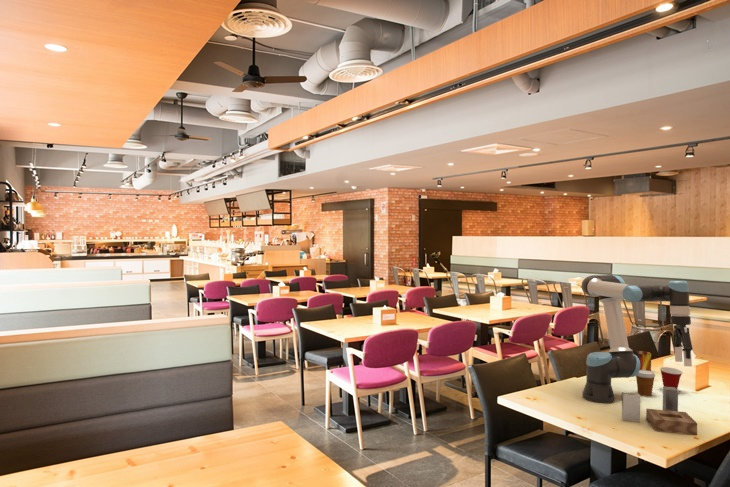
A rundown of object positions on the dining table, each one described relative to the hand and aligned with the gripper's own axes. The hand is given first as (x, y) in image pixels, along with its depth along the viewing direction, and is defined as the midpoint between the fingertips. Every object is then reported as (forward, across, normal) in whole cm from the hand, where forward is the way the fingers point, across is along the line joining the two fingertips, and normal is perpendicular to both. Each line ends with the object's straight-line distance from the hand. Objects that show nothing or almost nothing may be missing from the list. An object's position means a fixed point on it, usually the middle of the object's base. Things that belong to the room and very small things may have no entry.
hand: (683, 364), depth 221 cm
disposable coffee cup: (+24, +48, +7) cm, 53 cm away
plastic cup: (+23, +58, -8) cm, 63 cm away
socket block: (+28, 0, +7) cm, 28 cm away
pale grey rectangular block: (+26, +3, +22) cm, 34 cm away
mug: (+20, +95, -1) cm, 97 cm away
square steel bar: (+26, +19, +2) cm, 32 cm away
